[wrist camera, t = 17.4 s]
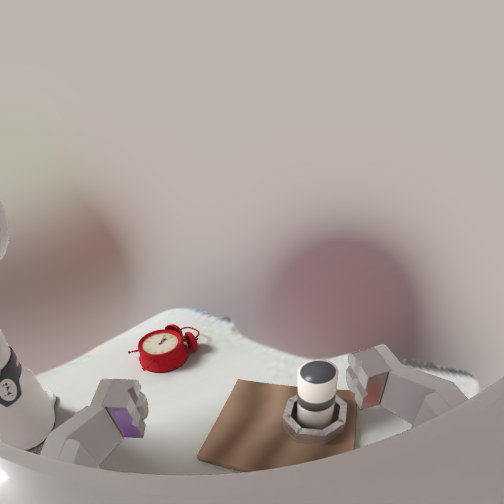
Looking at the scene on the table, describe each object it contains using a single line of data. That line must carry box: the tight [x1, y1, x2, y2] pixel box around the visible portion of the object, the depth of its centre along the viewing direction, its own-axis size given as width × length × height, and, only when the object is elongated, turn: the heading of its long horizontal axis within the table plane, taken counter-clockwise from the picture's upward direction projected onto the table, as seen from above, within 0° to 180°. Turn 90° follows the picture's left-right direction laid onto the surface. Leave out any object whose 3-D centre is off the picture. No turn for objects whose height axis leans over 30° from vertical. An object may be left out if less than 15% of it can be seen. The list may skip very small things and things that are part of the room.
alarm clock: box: [128, 324, 199, 372], centre depth 55 cm, size 10×6×15 cm
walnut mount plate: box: [197, 379, 357, 472], centre depth 35 cm, size 20×17×1 cm
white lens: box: [297, 360, 338, 430], centre depth 34 cm, size 5×5×10 cm
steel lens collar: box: [282, 395, 347, 445], centre depth 35 cm, size 9×9×2 cm
